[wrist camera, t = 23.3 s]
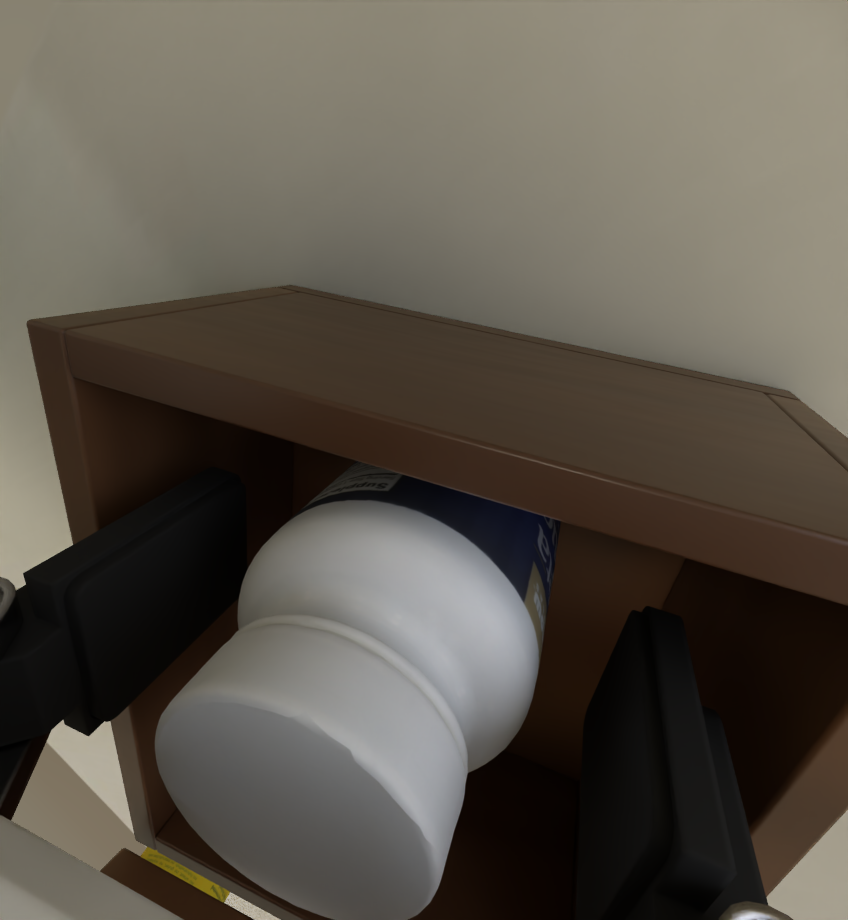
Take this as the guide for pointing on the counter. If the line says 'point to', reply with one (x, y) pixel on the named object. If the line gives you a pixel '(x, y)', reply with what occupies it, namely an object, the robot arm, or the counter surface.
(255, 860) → the pill bottle
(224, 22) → the counter surface
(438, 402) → the chest
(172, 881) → the lid
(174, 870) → the supplement bottle
